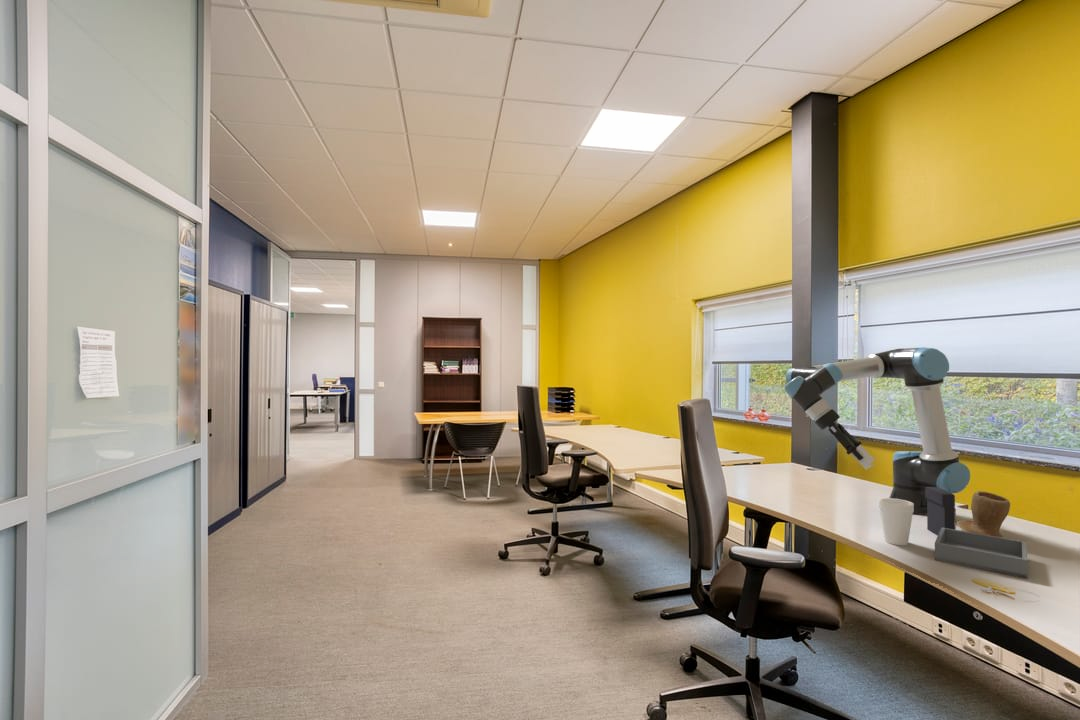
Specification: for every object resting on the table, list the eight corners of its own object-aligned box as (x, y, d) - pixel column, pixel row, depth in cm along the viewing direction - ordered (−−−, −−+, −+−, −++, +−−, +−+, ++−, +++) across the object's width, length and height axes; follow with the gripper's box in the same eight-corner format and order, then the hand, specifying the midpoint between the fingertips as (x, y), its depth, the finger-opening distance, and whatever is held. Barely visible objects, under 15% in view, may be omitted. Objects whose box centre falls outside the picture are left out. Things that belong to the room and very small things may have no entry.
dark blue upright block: (957, 540, 171) (957, 494, 171) (942, 539, 171) (942, 494, 172) (939, 530, 181) (939, 487, 181) (925, 529, 182) (925, 486, 182)
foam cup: (920, 547, 164) (920, 506, 164) (887, 546, 165) (887, 505, 165) (903, 537, 173) (903, 498, 173) (873, 536, 174) (873, 497, 175)
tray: (941, 542, 168) (941, 527, 168) (1026, 558, 155) (1026, 541, 155) (934, 559, 154) (934, 542, 154) (1027, 579, 140) (1027, 560, 140)
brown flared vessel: (1015, 547, 165) (1015, 499, 165) (968, 541, 170) (968, 495, 170) (999, 533, 178) (999, 489, 178) (956, 528, 184) (956, 485, 184)
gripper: (818, 419, 194) (863, 466, 186) (808, 423, 174) (858, 476, 165) (835, 407, 191) (881, 454, 183) (827, 409, 171) (879, 462, 162)
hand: (870, 465), depth 174 cm, fingers open, 13 cm apart
